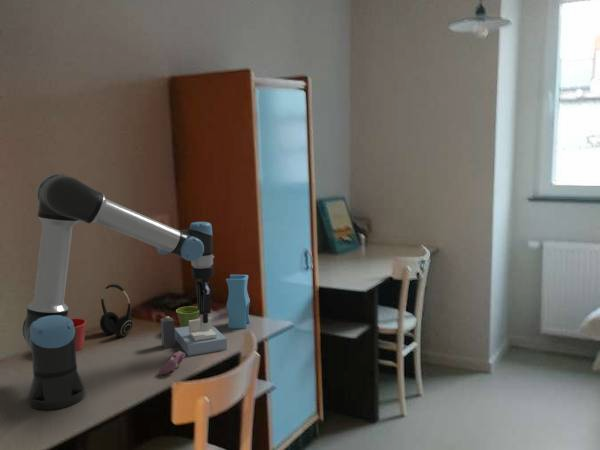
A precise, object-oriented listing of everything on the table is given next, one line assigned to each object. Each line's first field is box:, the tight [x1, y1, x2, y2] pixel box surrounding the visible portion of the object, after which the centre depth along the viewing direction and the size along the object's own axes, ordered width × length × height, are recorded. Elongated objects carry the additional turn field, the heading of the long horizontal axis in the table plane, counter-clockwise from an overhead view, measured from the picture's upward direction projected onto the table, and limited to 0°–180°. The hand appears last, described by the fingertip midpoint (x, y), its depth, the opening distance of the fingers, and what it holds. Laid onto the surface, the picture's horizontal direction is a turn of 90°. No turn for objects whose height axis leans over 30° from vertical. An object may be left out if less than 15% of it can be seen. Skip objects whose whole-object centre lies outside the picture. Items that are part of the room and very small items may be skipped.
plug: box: [160, 315, 176, 349], centre depth 211 cm, size 4×4×11 cm
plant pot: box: [175, 305, 200, 328], centre depth 227 cm, size 9×9×9 cm
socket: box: [174, 323, 228, 357], centre depth 213 cm, size 14×20×4 cm
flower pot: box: [70, 317, 87, 352], centre depth 209 cm, size 11×11×10 cm
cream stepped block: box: [189, 317, 217, 341], centre depth 209 cm, size 8×8×5 cm
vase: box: [225, 274, 251, 330], centre depth 233 cm, size 8×8×20 cm
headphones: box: [99, 283, 134, 338], centre depth 222 cm, size 9×15×20 cm, turn 62°
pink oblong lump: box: [159, 350, 186, 375], centre depth 189 cm, size 10×5×7 cm, turn 169°
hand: (204, 330), depth 207 cm, fingers closed
